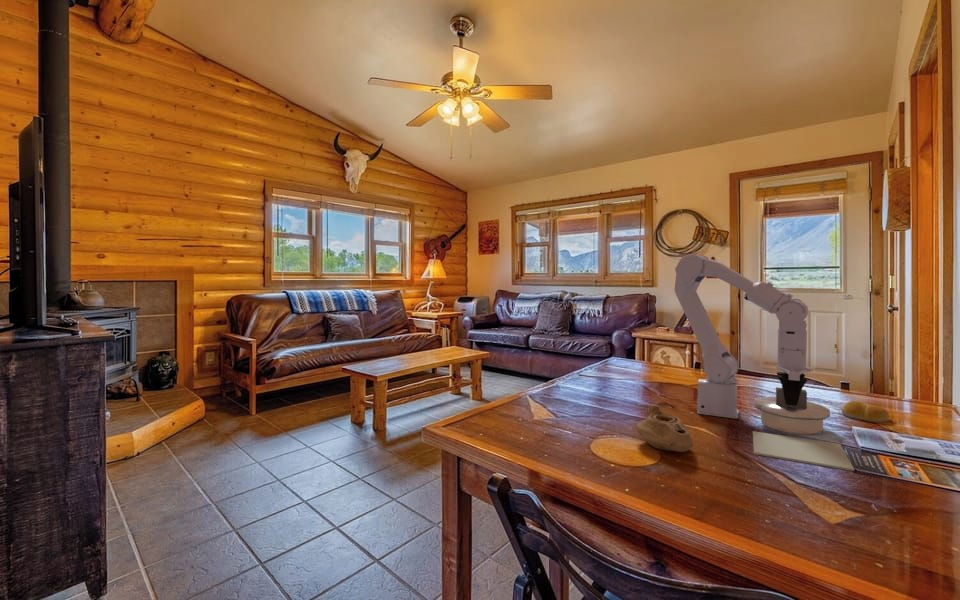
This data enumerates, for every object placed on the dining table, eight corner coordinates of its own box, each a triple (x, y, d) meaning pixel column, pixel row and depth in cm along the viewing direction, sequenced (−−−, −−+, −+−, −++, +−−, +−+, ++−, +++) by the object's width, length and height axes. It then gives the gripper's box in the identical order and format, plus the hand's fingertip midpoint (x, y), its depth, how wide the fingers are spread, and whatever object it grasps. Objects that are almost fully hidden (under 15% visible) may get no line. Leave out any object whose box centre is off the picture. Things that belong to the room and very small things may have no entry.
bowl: (762, 429, 103) (762, 412, 103) (760, 415, 113) (760, 400, 113) (825, 438, 97) (825, 420, 97) (817, 422, 107) (817, 406, 107)
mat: (753, 454, 89) (753, 452, 89) (752, 432, 101) (752, 431, 101) (854, 471, 81) (854, 469, 81) (840, 445, 92) (840, 444, 92)
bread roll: (887, 425, 105) (887, 410, 104) (840, 417, 111) (840, 402, 111) (891, 418, 110) (891, 403, 110) (846, 410, 117) (846, 396, 116)
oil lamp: (671, 465, 84) (671, 426, 84) (625, 438, 99) (625, 404, 98) (715, 458, 87) (715, 420, 87) (664, 433, 102) (664, 400, 101)
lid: (755, 413, 102) (755, 393, 102) (753, 398, 115) (754, 380, 115) (835, 423, 95) (835, 401, 94) (824, 406, 107) (824, 386, 107)
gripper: (816, 354, 96) (815, 414, 97) (808, 345, 108) (807, 398, 109) (778, 352, 100) (777, 409, 100) (774, 343, 112) (773, 394, 113)
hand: (790, 403), depth 105 cm, fingers closed on lid, 2 cm apart
